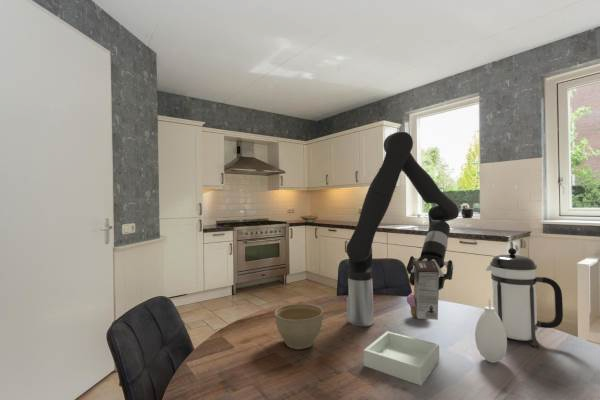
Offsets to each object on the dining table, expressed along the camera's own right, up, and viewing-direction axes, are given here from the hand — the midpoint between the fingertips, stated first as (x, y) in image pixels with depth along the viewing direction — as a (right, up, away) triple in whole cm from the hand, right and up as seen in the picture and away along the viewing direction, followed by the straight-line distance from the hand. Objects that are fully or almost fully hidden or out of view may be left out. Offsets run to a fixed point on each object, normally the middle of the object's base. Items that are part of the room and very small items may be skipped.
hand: (424, 286), depth 101 cm
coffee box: (0, -9, 0) cm, 9 cm away
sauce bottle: (+15, -18, -12) cm, 26 cm away
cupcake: (+7, -19, +23) cm, 31 cm away
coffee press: (+32, -18, +2) cm, 37 cm away
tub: (-11, -19, -11) cm, 25 cm away
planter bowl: (-41, -20, +3) cm, 46 cm away
